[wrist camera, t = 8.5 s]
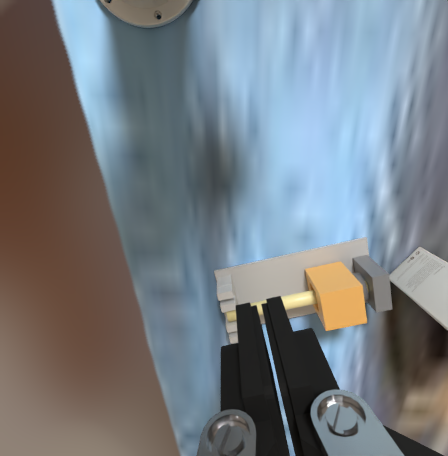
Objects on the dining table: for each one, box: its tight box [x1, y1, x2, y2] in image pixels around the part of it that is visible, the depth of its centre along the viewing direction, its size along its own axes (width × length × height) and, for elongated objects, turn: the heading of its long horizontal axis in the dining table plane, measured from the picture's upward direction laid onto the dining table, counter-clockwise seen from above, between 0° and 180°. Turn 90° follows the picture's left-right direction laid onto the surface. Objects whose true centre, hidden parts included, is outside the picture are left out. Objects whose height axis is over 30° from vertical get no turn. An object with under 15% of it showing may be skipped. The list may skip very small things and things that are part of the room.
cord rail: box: [214, 237, 392, 344], centre depth 41 cm, size 10×22×6 cm, turn 104°
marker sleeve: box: [305, 261, 367, 331], centre depth 40 cm, size 5×5×7 cm
